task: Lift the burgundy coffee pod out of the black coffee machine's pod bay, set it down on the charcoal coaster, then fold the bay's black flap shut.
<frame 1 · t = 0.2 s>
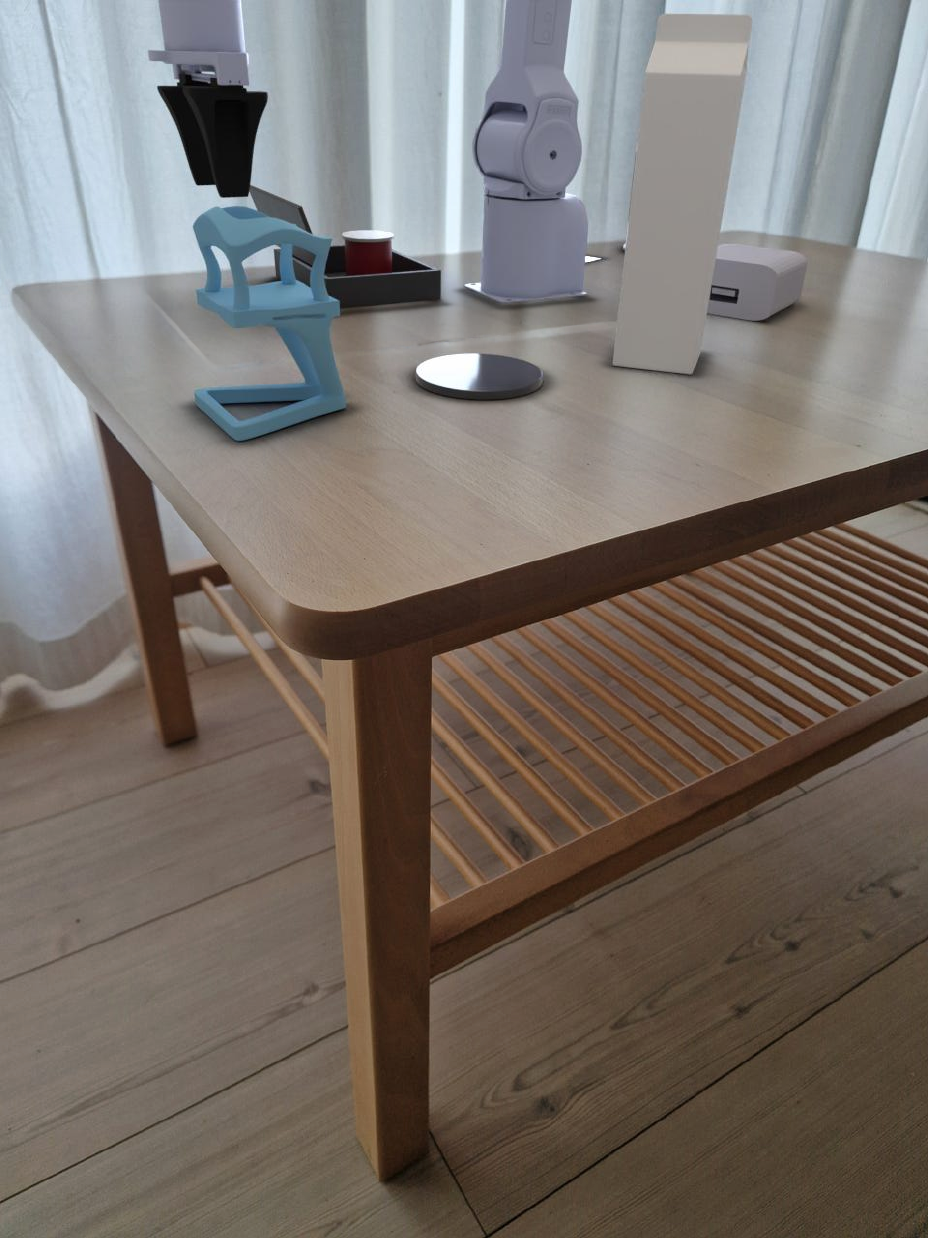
hand: (221, 190, 70), 10 cm above the table, tool pointing down, fingers open, 7 cm apart
coaster: (478, 379, 63), on the table
charger: (746, 303, 87), on the table
milk: (656, 362, 68), on the table
french press: (665, 253, 108), on the table
chair: (278, 414, 56), on the table
flap: (285, 225, 80), point 6 cm above the table, hinge at 110.0°
pod bay: (355, 292, 86), on the table
pod: (369, 285, 86), resting on pod bay
puzzle cube: (556, 260, 103), on the table
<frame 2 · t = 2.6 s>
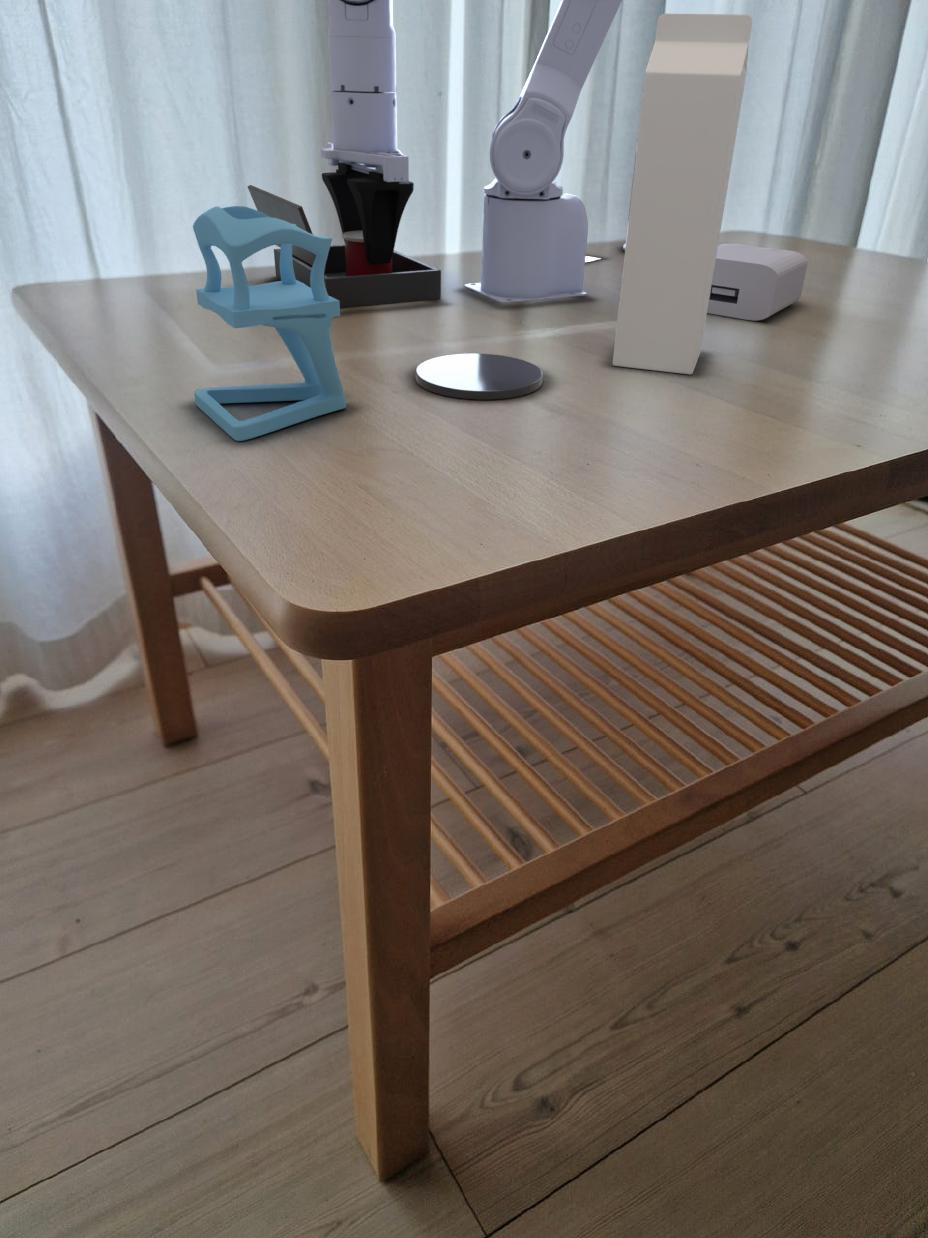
hand: (368, 257, 85), 3 cm above the table, tool pointing down, fingers closed on pod, 5 cm apart
pod: (369, 285, 86), point 1 cm above the table, touching gripper, pod bay
everything else where it was.
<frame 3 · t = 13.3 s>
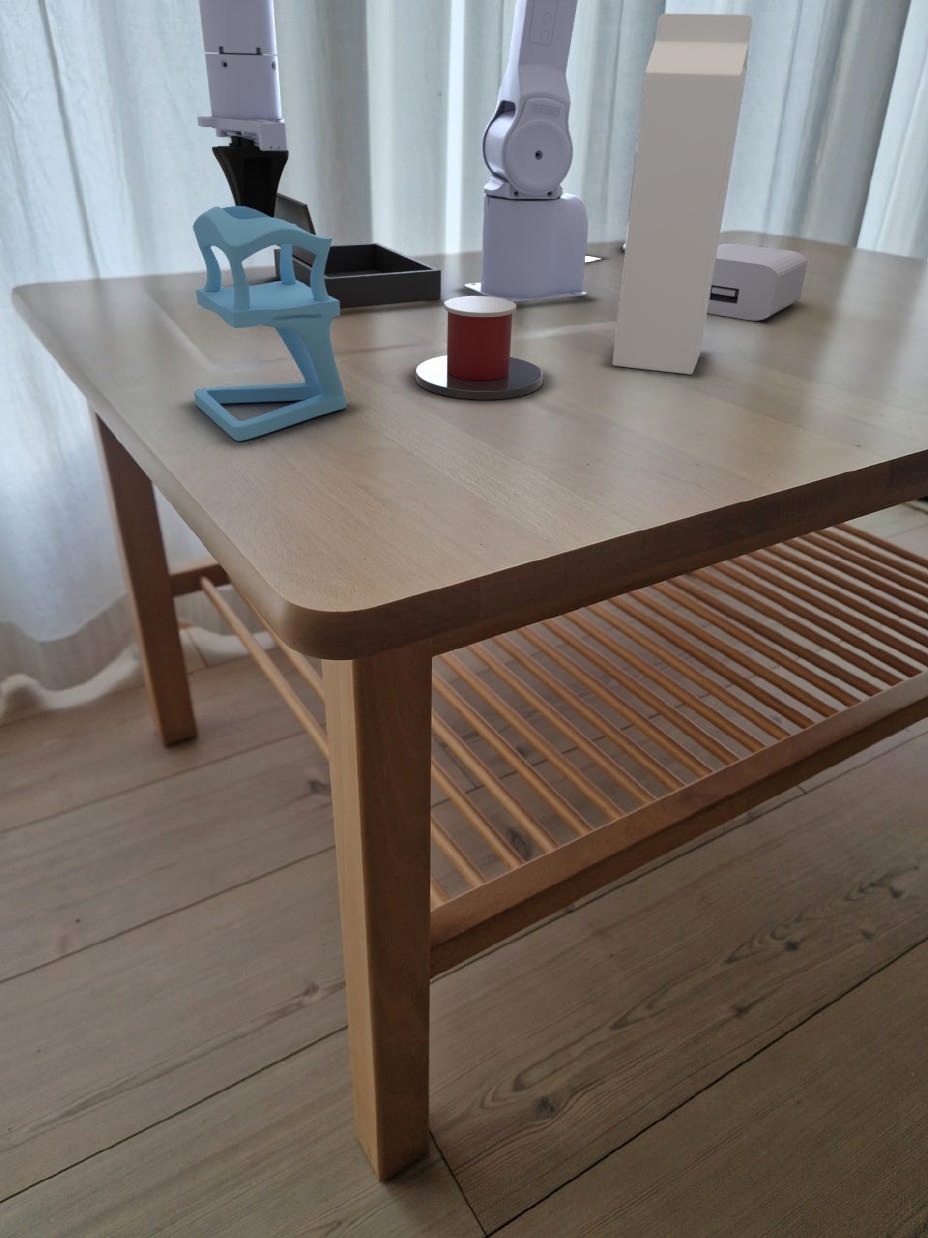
hand: (258, 235, 79), 5 cm above the table, tool pointing down, fingers closed, pressing on flap
flap: (287, 224, 80), point 6 cm above the table, hinge at 105.0°, touching gripper
pod: (478, 371, 63), point 1 cm above the table, touching coaster
everything else where it was.
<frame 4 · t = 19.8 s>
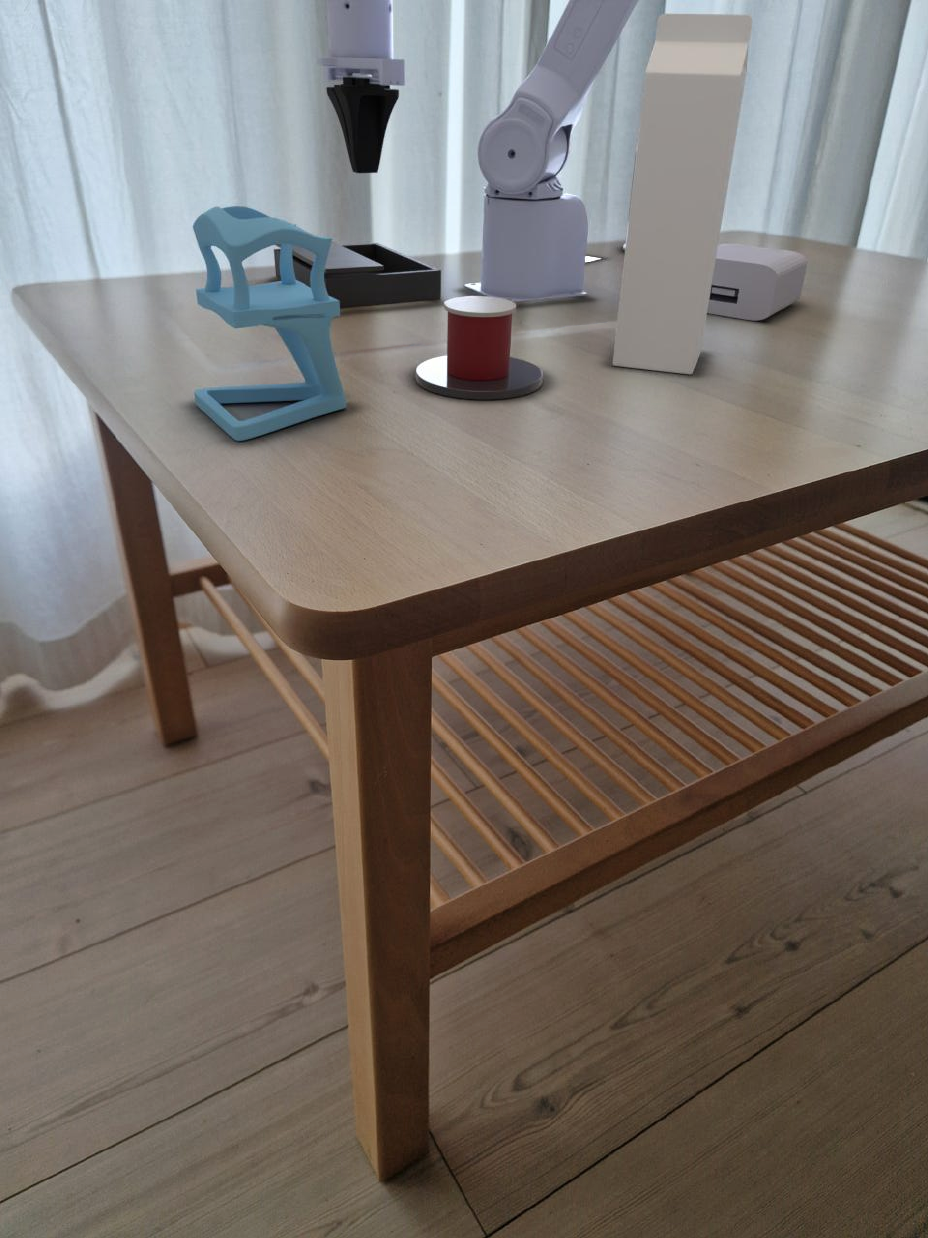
hand: (365, 172, 84), 10 cm above the table, tool pointing down, fingers closed
flap: (325, 254, 83), point 4 cm above the table, hinge at -0.7°
everything else where it was.
at the end: pod 0.1 cm off-centre on the coaster, point 0.6 cm above the coaster's base; pod tilted 0°; flap at -1° (first picture: +110°) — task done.
